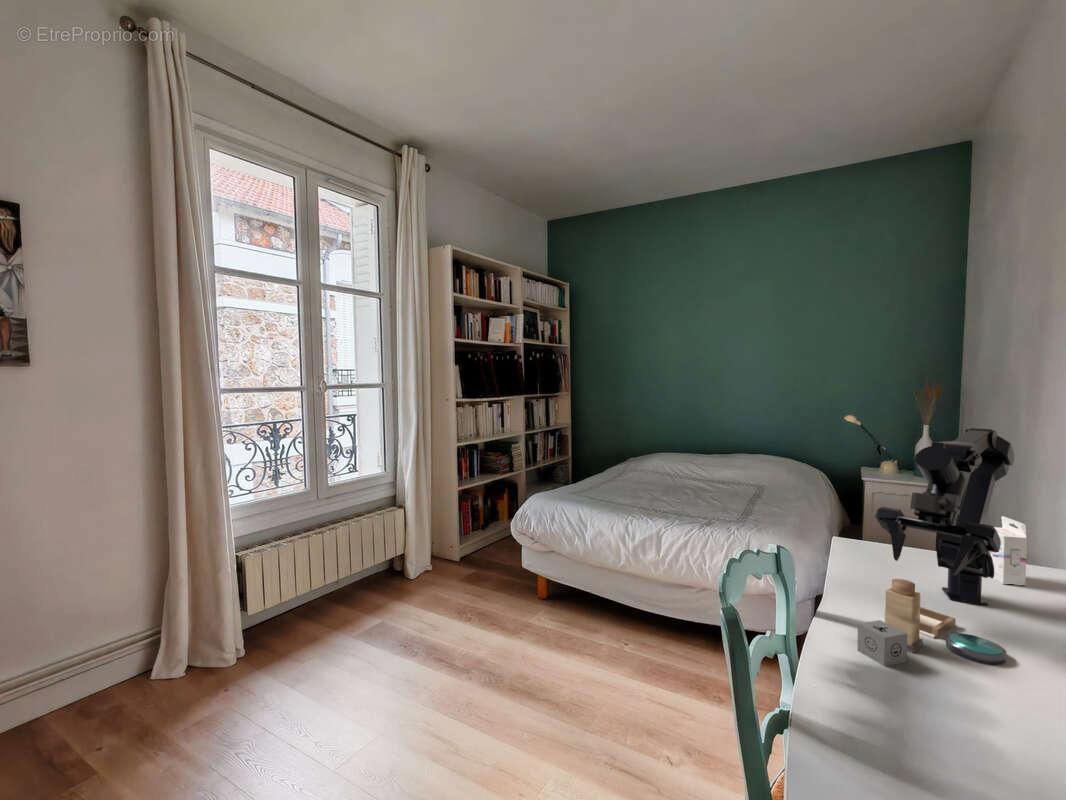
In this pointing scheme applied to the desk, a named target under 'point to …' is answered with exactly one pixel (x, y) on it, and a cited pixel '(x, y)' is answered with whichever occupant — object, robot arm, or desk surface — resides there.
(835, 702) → the desk surface
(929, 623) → the frame
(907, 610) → the stamp
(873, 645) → the dice cube
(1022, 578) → the ink cartridge box
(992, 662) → the pad
